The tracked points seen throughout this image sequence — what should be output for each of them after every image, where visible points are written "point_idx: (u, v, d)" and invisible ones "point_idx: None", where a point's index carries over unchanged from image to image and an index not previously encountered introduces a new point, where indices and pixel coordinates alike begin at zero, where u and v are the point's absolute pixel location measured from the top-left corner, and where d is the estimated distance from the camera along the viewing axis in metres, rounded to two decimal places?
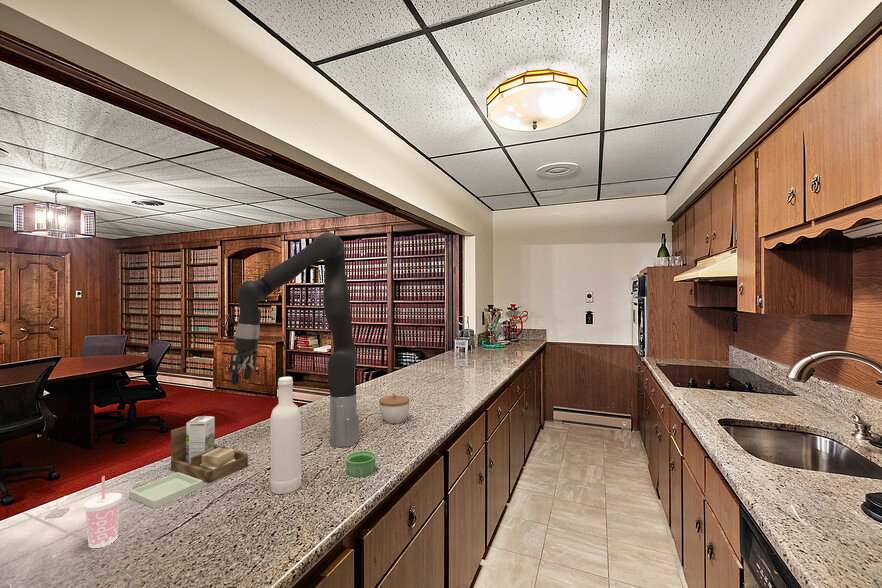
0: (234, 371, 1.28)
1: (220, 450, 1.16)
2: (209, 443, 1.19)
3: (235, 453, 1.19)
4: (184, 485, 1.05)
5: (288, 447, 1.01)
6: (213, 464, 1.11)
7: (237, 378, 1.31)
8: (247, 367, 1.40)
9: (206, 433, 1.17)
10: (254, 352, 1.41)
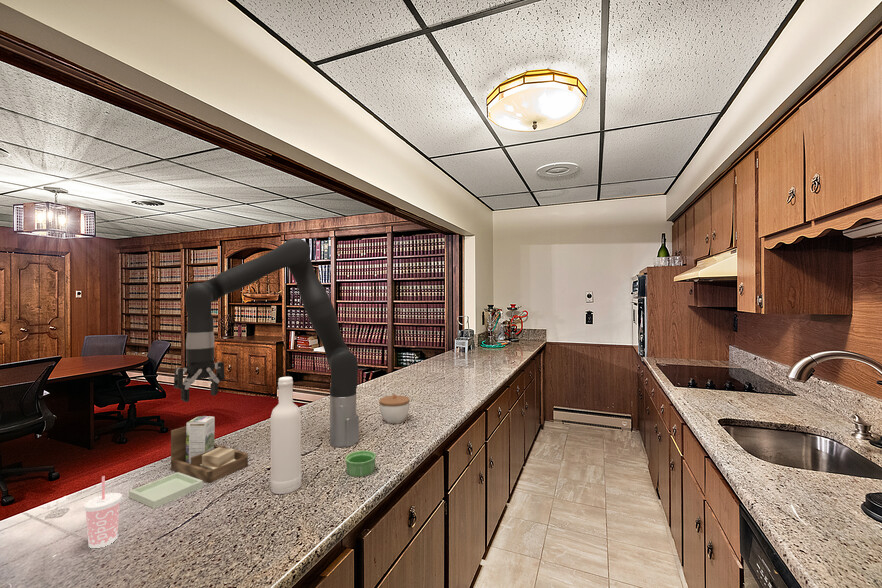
0: (177, 386, 1.12)
1: (220, 450, 1.16)
2: (209, 443, 1.19)
3: (235, 453, 1.19)
4: (184, 485, 1.05)
5: (288, 447, 1.01)
6: (213, 464, 1.12)
7: (186, 394, 1.14)
8: (212, 381, 1.23)
9: (206, 433, 1.17)
10: (219, 364, 1.24)
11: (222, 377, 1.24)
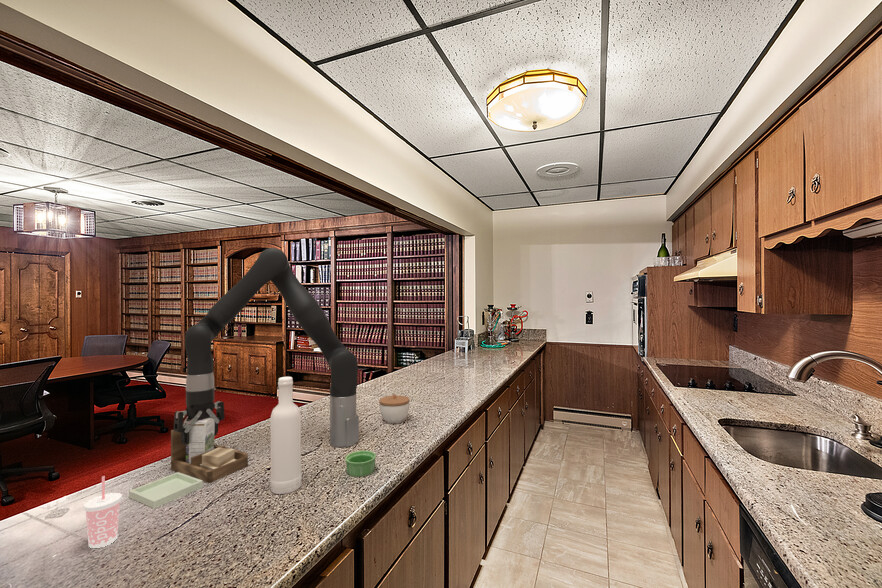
0: (177, 430, 1.12)
1: (220, 450, 1.16)
2: (209, 443, 1.19)
3: (235, 453, 1.19)
4: (184, 485, 1.05)
5: (288, 447, 1.01)
6: (213, 464, 1.12)
7: (186, 437, 1.14)
8: None
9: (206, 433, 1.17)
10: (219, 404, 1.24)
11: (222, 417, 1.24)
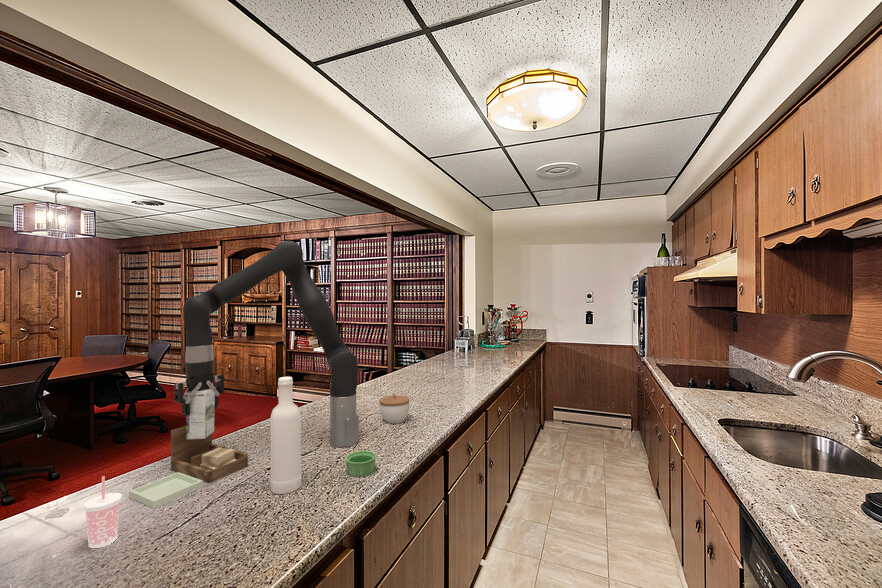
0: (178, 401, 1.12)
1: (220, 450, 1.16)
2: (210, 414, 1.19)
3: (235, 453, 1.19)
4: (184, 485, 1.05)
5: (288, 447, 1.01)
6: (213, 464, 1.11)
7: (187, 409, 1.14)
8: None
9: (206, 404, 1.17)
10: (219, 377, 1.24)
11: (222, 390, 1.24)
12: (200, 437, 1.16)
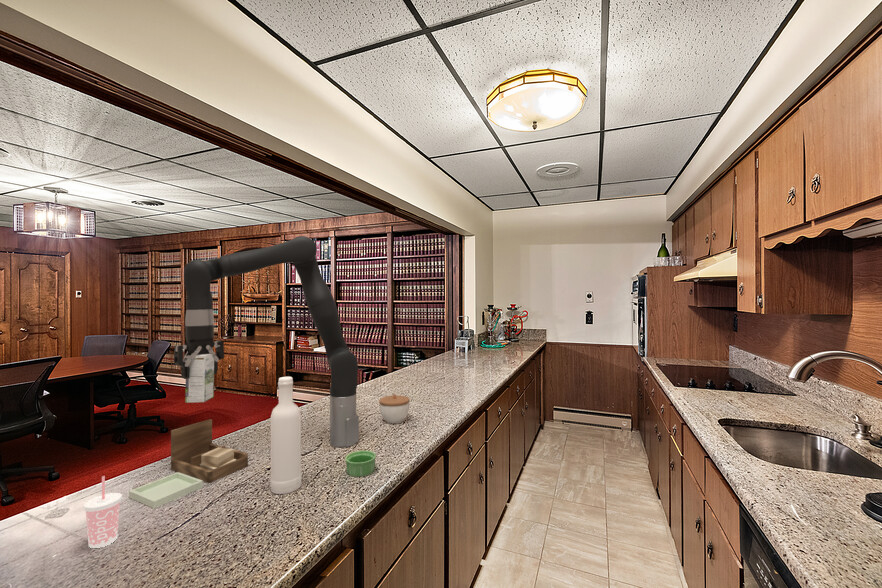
0: (177, 363, 1.12)
1: (220, 450, 1.16)
2: (209, 378, 1.19)
3: (235, 453, 1.19)
4: (184, 485, 1.05)
5: (288, 447, 1.01)
6: (212, 464, 1.11)
7: (186, 371, 1.15)
8: None
9: (205, 367, 1.17)
10: (219, 343, 1.24)
11: (221, 356, 1.24)
12: (199, 400, 1.16)
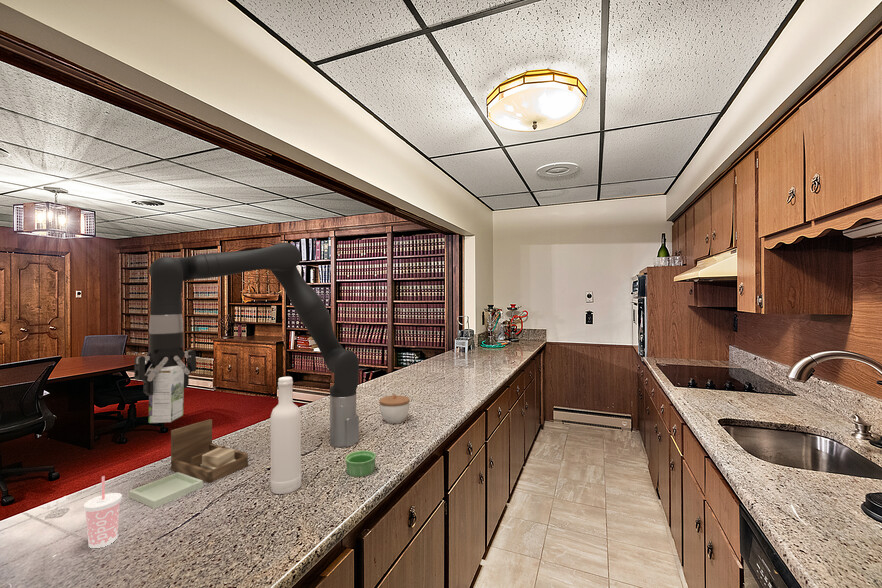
0: (138, 378, 0.96)
1: (220, 450, 1.16)
2: (177, 394, 1.03)
3: (235, 453, 1.19)
4: (184, 485, 1.05)
5: (288, 447, 1.01)
6: (213, 464, 1.12)
7: (149, 387, 0.98)
8: None
9: (172, 382, 1.01)
10: (190, 352, 1.07)
11: (193, 367, 1.08)
12: (165, 420, 1.00)
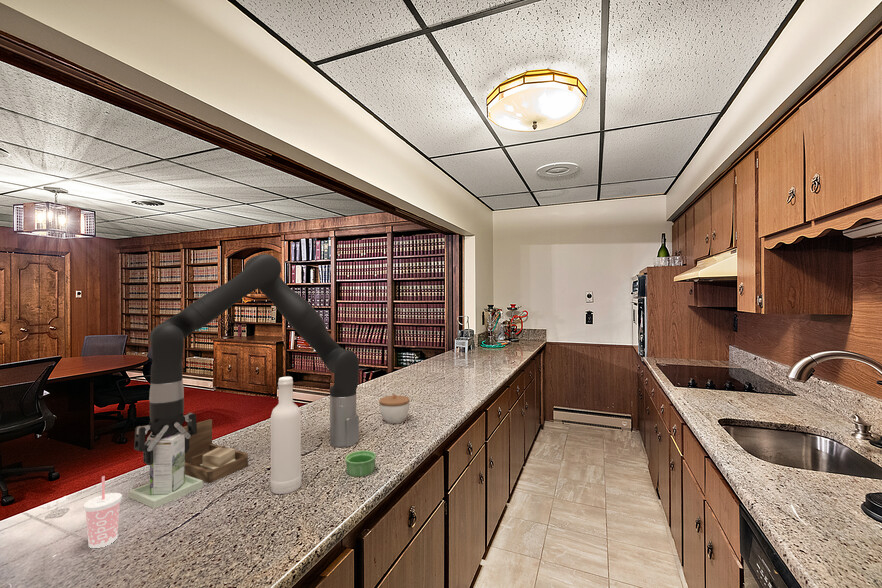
0: (138, 449, 0.96)
1: (220, 450, 1.16)
2: (178, 464, 1.03)
3: (235, 453, 1.19)
4: (184, 485, 1.05)
5: (288, 447, 1.01)
6: (214, 464, 1.12)
7: (149, 457, 0.98)
8: None
9: (173, 453, 1.00)
10: (190, 416, 1.07)
11: (194, 431, 1.08)
12: (166, 492, 1.00)
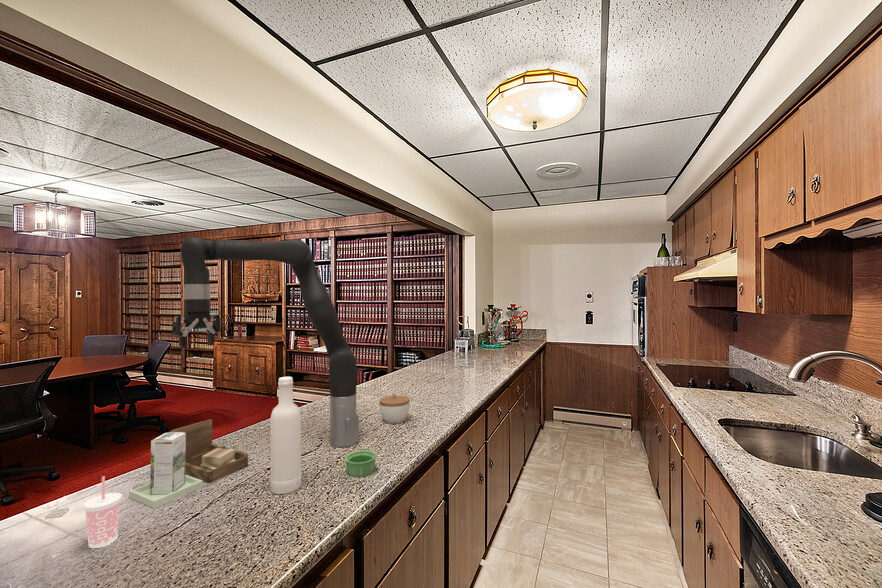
0: (175, 333, 1.20)
1: (220, 450, 1.16)
2: (179, 464, 1.03)
3: (235, 453, 1.19)
4: (184, 485, 1.05)
5: (288, 447, 1.01)
6: (214, 464, 1.11)
7: (184, 341, 1.22)
8: (209, 332, 1.30)
9: (173, 453, 1.01)
10: (215, 316, 1.31)
11: (218, 329, 1.32)
12: (166, 492, 1.00)
